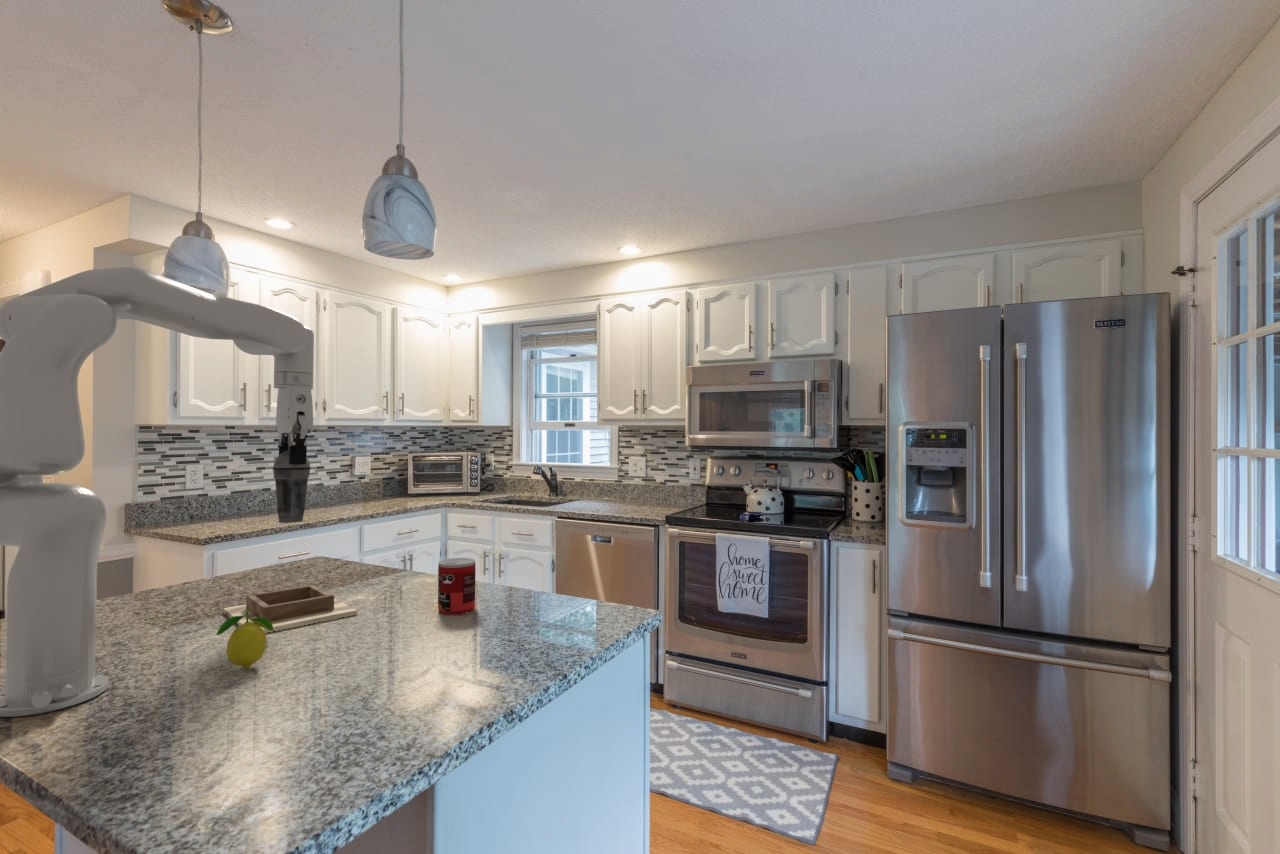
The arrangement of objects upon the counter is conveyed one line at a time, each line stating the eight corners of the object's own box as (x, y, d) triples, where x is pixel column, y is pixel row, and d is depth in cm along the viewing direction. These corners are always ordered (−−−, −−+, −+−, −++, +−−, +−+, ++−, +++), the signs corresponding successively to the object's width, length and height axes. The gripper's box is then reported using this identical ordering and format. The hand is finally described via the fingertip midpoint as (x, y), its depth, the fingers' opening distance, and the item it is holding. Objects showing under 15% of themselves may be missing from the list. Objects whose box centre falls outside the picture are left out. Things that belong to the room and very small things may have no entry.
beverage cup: (317, 519, 135) (318, 430, 136) (295, 523, 128) (297, 429, 128) (286, 519, 136) (288, 430, 136) (263, 523, 128) (265, 429, 129)
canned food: (435, 607, 137) (436, 559, 137) (472, 604, 140) (472, 556, 140) (440, 617, 130) (440, 566, 130) (477, 612, 133) (478, 562, 133)
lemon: (215, 677, 97) (216, 615, 97) (229, 664, 103) (230, 605, 103) (262, 673, 99) (263, 612, 99) (273, 660, 104) (274, 602, 104)
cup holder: (357, 614, 131) (357, 596, 131) (250, 636, 117) (251, 615, 117) (321, 595, 146) (321, 579, 146) (223, 612, 132) (223, 594, 132)
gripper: (326, 381, 129) (324, 464, 129) (299, 385, 141) (298, 462, 141) (287, 378, 124) (285, 465, 123) (262, 383, 136) (261, 462, 135)
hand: (292, 463), depth 132 cm, fingers closed on beverage cup, 6 cm apart
